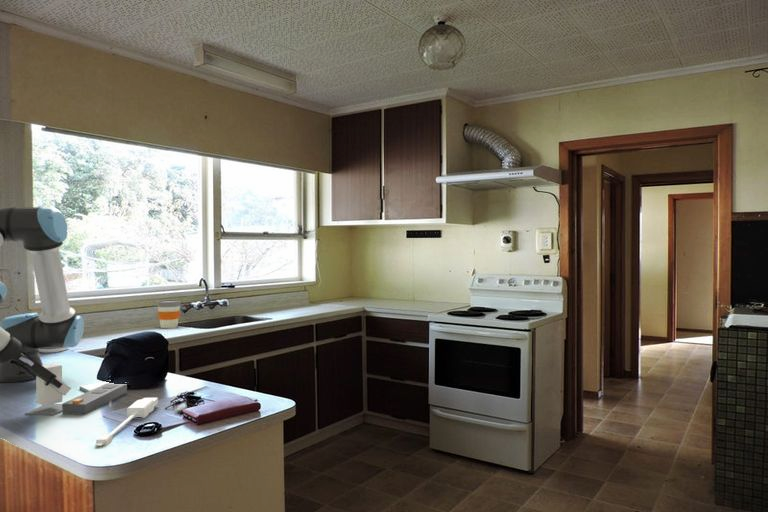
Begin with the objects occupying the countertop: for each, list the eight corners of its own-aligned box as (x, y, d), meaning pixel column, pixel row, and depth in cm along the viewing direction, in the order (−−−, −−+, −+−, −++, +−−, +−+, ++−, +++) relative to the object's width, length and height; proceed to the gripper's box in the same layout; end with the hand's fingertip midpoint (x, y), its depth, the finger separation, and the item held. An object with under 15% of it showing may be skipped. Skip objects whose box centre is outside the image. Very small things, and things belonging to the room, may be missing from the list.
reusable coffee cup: (176, 324, 317) (176, 299, 316) (184, 327, 307) (183, 301, 307) (154, 326, 309) (153, 300, 308) (161, 329, 299) (161, 302, 299)
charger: (36, 402, 161) (36, 366, 160) (54, 398, 165) (54, 363, 165) (44, 405, 158) (43, 368, 158) (62, 401, 162) (62, 365, 162)
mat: (46, 404, 167) (46, 403, 167) (74, 405, 166) (74, 404, 166) (24, 414, 158) (24, 413, 158) (54, 415, 157) (54, 414, 157)
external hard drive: (79, 390, 184) (117, 383, 193) (89, 395, 178) (127, 387, 188) (79, 385, 184) (117, 378, 193) (88, 390, 178) (127, 382, 188)
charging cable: (88, 452, 134) (87, 438, 133) (142, 405, 166) (142, 394, 166) (108, 451, 134) (108, 438, 134) (159, 405, 166) (159, 394, 166)
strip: (120, 385, 188) (120, 375, 188) (139, 386, 188) (139, 375, 187) (62, 413, 158) (62, 401, 158) (85, 414, 158) (84, 402, 158)
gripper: (-25, 352, 153) (39, 395, 168) (2, 360, 143) (68, 406, 157) (-4, 331, 158) (57, 375, 172) (24, 338, 147) (86, 384, 161)
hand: (62, 390), depth 164 cm, fingers closed on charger, 5 cm apart
